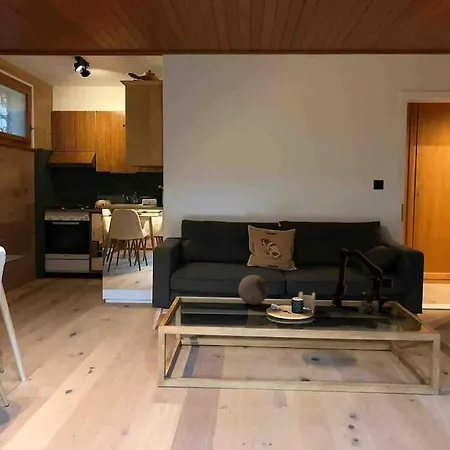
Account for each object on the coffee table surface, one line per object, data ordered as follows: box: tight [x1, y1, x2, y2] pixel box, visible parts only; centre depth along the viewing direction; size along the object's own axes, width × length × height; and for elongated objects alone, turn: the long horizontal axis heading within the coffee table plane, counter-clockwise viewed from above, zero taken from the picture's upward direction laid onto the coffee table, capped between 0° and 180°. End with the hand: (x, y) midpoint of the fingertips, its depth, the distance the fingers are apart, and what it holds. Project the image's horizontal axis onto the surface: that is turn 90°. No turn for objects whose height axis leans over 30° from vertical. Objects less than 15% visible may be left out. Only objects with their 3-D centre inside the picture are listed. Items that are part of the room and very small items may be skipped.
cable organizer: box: [297, 291, 316, 312], centre depth 347 cm, size 15×11×12 cm
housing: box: [357, 300, 382, 317], centre depth 354 cm, size 18×4×6 cm, turn 30°
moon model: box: [238, 274, 269, 306], centre depth 357 cm, size 20×20×20 cm
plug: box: [358, 305, 371, 315], centre depth 354 cm, size 14×4×4 cm, turn 123°
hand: (374, 309), depth 356 cm, fingers open, 8 cm apart
